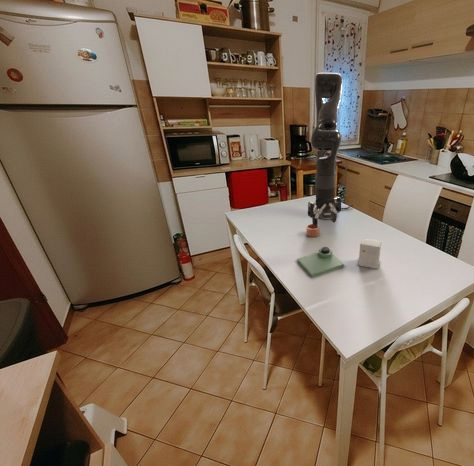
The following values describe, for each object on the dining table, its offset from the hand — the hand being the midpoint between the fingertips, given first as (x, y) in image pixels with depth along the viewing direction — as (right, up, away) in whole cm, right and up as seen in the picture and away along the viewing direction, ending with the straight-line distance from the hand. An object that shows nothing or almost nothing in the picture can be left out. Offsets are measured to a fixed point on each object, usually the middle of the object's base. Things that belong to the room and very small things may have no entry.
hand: (324, 223), depth 108 cm
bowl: (-6, -5, +27) cm, 28 cm away
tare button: (0, -12, +6) cm, 14 cm away
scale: (-2, -17, +3) cm, 17 cm away
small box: (+19, -17, +4) cm, 26 cm away
